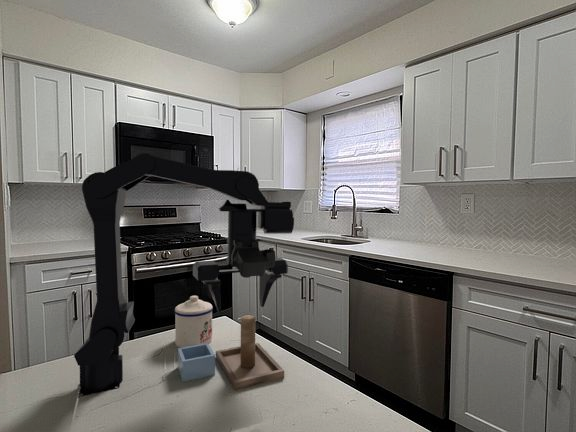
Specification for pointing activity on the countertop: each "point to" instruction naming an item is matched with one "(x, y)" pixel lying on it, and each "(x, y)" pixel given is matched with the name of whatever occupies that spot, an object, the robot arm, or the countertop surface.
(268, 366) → the tray
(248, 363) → the dowel pin
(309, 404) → the countertop surface
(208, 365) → the holder cup
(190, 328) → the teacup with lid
